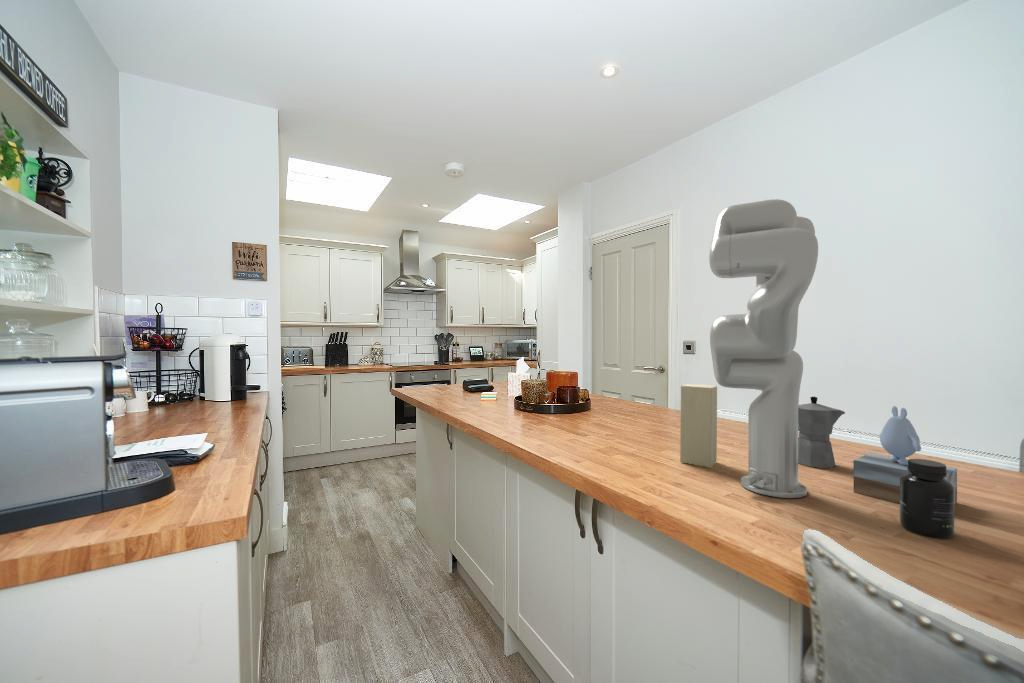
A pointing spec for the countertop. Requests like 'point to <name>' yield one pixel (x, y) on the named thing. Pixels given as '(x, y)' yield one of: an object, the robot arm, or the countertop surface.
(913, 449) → the toy figure
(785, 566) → the countertop surface
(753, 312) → the robot arm
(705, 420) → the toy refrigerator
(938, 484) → the supplement bottle
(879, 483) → the silver block
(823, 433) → the coffeepot
